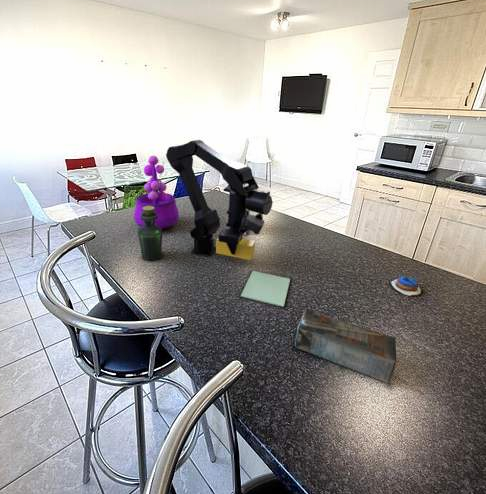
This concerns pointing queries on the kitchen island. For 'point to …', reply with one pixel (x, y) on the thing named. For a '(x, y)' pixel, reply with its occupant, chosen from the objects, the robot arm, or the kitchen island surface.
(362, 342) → the beverage carton
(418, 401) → the kitchen island surface
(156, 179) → the decorative plant
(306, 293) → the kitchen island surface
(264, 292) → the mat
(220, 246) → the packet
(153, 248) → the potion bottle
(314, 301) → the kitchen island surface
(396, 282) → the dessert
